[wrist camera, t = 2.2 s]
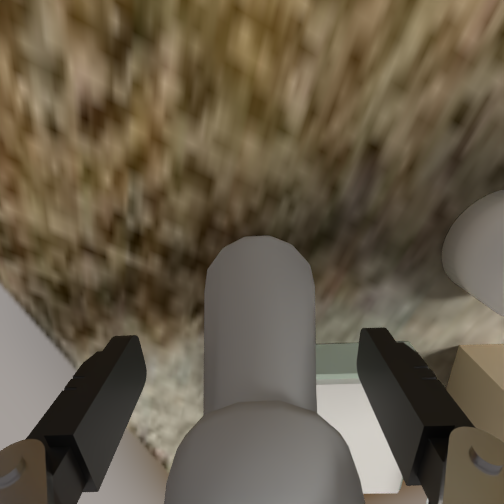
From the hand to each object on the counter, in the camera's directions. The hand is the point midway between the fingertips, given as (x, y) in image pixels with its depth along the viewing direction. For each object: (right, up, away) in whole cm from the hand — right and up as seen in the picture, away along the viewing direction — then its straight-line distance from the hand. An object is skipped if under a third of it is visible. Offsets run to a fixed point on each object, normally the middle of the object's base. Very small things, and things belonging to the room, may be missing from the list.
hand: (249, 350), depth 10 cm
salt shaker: (+1, +3, +7) cm, 8 cm away
